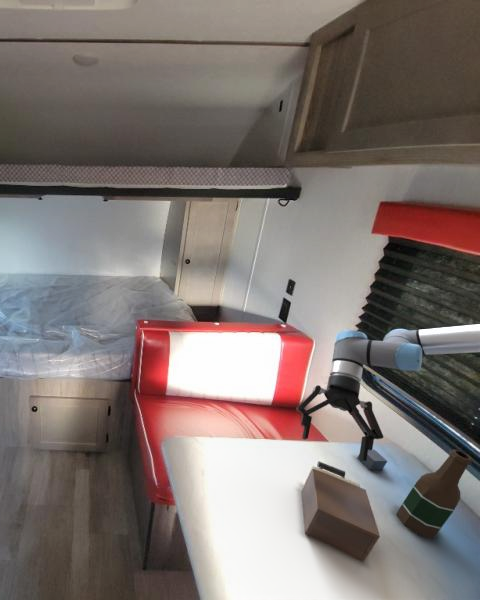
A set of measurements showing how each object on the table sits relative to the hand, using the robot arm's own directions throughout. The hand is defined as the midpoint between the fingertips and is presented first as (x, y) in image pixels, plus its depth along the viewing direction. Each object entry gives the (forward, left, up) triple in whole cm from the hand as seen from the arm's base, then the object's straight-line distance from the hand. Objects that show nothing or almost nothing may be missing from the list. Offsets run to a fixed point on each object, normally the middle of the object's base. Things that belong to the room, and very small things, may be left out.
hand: (332, 449), depth 93 cm
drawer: (0, +12, -9) cm, 15 cm away
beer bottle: (-20, +4, -10) cm, 23 cm away
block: (-14, -14, -10) cm, 22 cm away
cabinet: (0, +17, -10) cm, 20 cm away
